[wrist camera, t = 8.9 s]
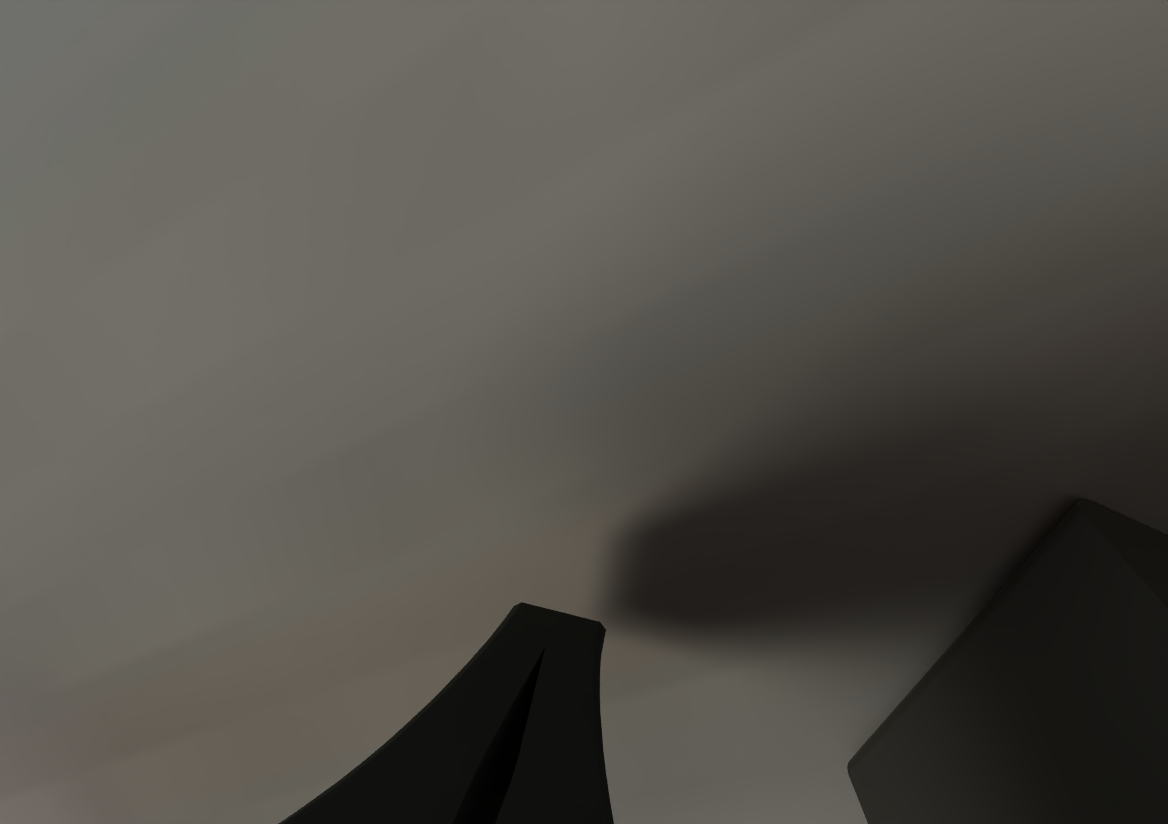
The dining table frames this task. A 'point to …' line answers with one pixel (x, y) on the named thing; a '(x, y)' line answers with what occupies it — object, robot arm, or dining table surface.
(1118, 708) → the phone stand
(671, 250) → the dining table surface
